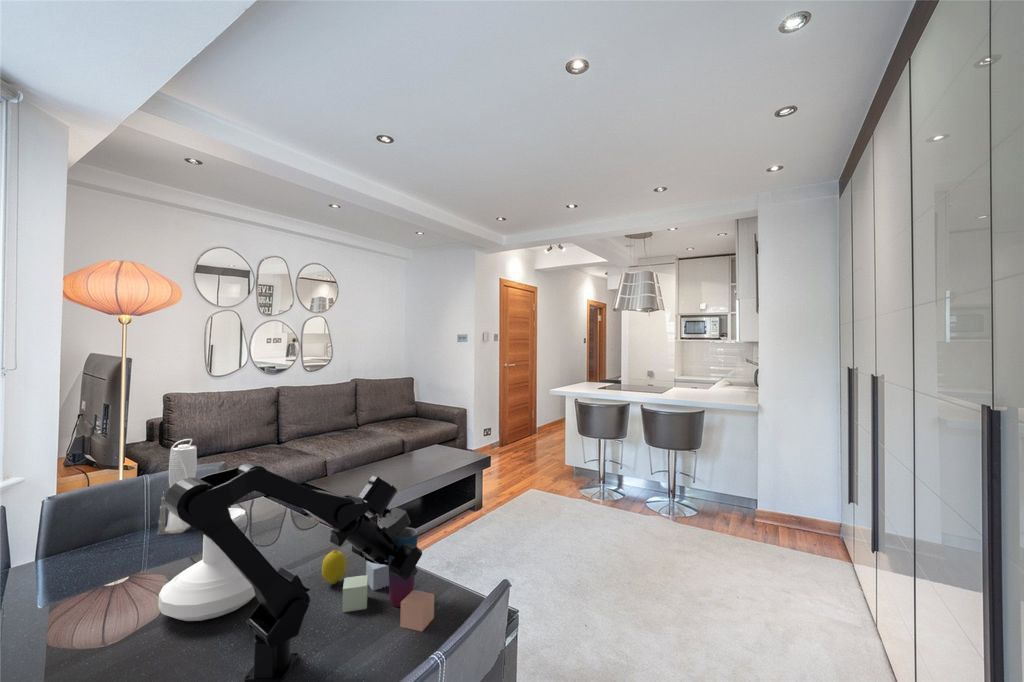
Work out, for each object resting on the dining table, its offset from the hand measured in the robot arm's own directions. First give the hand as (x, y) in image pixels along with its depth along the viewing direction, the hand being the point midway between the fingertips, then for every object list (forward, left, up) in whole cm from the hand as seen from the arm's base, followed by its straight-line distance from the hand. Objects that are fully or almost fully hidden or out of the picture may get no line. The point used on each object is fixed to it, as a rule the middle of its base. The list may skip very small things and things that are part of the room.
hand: (407, 568), depth 99 cm
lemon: (+7, +19, -7) cm, 21 cm away
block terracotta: (-9, -4, -7) cm, 12 cm away
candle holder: (-1, +42, -7) cm, 42 cm away
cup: (-1, +1, -7) cm, 7 cm away
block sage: (-2, +11, -7) cm, 13 cm away
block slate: (+7, +8, -7) cm, 12 cm away
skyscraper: (+43, +81, -7) cm, 92 cm away
